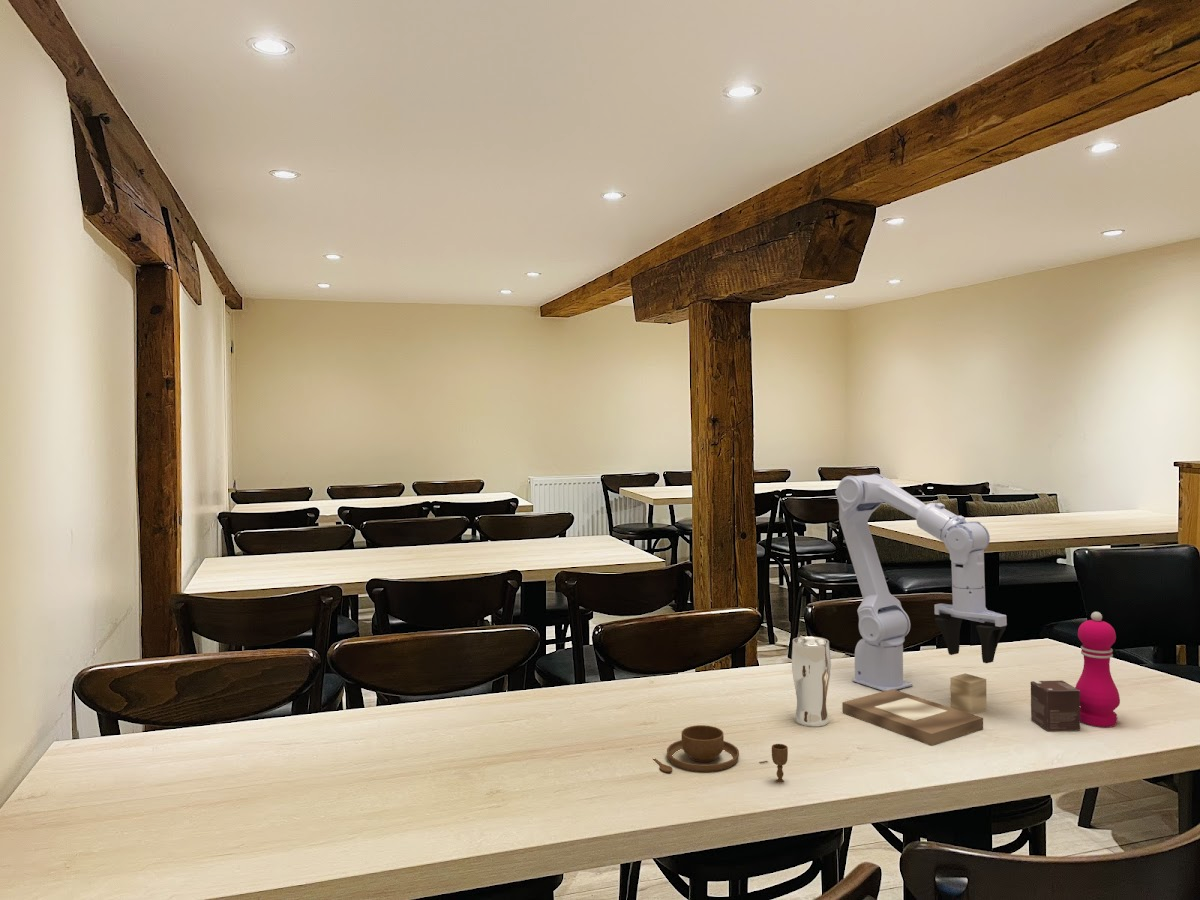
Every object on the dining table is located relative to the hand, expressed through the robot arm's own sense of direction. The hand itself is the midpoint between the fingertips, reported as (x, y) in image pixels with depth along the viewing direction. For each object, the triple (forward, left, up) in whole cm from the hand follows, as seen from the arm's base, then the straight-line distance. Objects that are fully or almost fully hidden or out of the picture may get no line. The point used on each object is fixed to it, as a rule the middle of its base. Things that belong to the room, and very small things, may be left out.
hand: (970, 658), depth 163 cm
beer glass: (-13, -29, -10) cm, 33 cm away
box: (+13, +5, -10) cm, 18 cm away
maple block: (-1, 0, -10) cm, 10 cm away
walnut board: (-3, -14, -10) cm, 17 cm away
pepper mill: (+16, +13, -10) cm, 23 cm away
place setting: (-6, -57, -11) cm, 58 cm away
